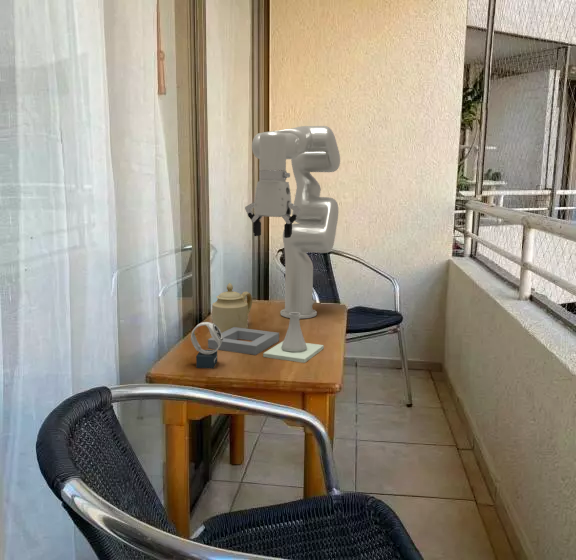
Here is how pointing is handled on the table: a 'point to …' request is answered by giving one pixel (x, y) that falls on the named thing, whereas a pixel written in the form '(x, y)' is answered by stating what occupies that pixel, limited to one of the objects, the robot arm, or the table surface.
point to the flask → (294, 335)
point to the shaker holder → (258, 338)
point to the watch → (207, 356)
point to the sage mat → (293, 353)
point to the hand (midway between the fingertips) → (272, 236)
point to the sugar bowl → (231, 309)
